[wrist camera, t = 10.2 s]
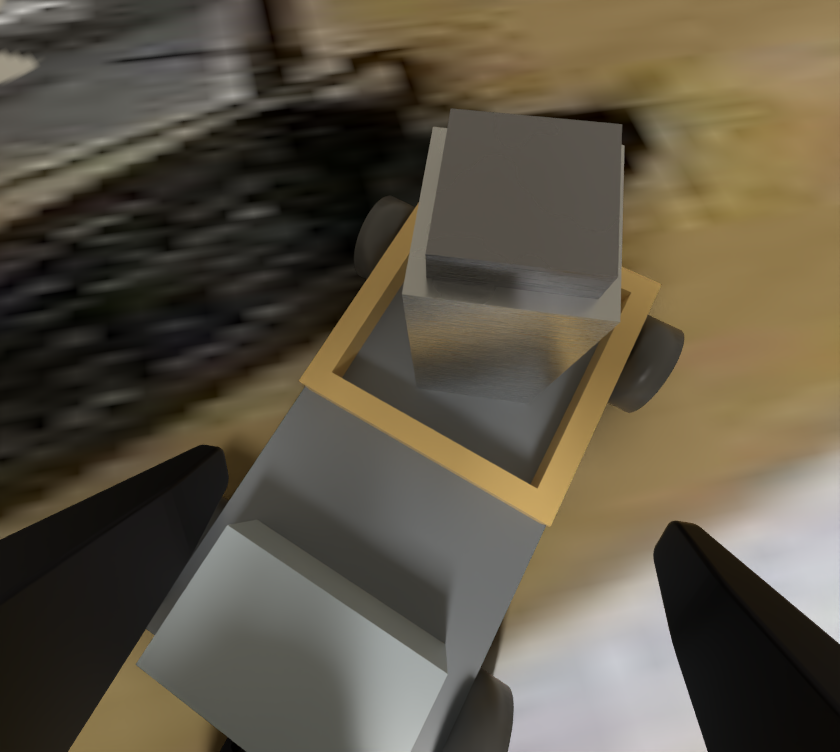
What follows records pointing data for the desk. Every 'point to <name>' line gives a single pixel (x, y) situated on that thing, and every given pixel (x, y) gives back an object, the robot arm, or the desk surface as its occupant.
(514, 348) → the grey block
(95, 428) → the desk surface
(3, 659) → the robot arm
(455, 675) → the truck
